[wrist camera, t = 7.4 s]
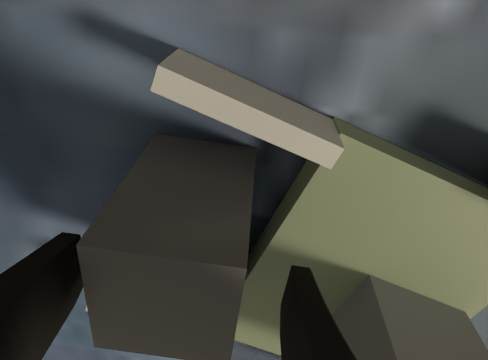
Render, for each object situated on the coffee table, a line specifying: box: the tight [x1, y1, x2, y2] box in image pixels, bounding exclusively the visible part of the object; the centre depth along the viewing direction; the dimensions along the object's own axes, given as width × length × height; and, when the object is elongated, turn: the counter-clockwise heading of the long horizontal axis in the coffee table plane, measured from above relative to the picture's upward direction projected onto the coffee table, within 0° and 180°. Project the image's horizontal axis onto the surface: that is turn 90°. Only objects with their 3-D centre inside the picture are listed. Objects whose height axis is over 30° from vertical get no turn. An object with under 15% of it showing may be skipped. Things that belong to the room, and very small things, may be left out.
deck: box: [85, 48, 488, 360], centre depth 13 cm, size 16×16×6 cm
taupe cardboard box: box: [76, 134, 257, 360], centre depth 12 cm, size 4×6×6 cm, turn 173°
